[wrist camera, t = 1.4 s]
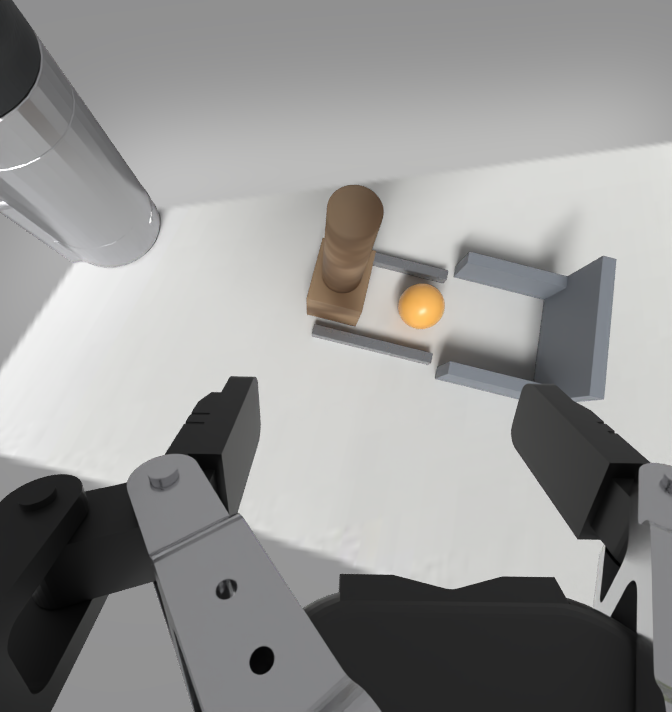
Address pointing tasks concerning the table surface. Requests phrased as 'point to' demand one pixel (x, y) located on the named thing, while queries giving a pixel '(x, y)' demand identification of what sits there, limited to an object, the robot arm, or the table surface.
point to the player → (345, 255)
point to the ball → (421, 306)
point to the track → (378, 345)
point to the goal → (549, 326)
